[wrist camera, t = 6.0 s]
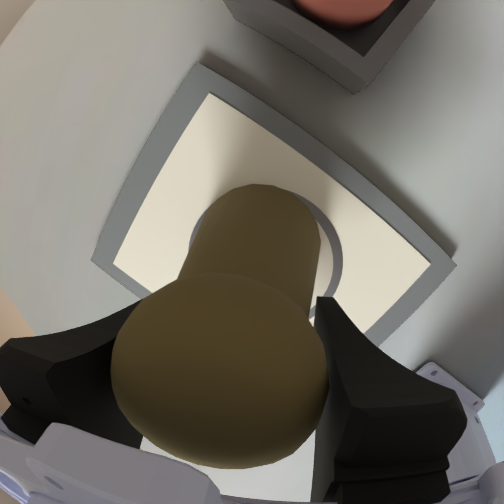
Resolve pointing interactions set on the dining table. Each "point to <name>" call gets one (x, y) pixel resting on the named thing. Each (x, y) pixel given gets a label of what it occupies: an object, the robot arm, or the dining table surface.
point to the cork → (230, 339)
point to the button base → (334, 37)
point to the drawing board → (267, 173)
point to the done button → (343, 12)
